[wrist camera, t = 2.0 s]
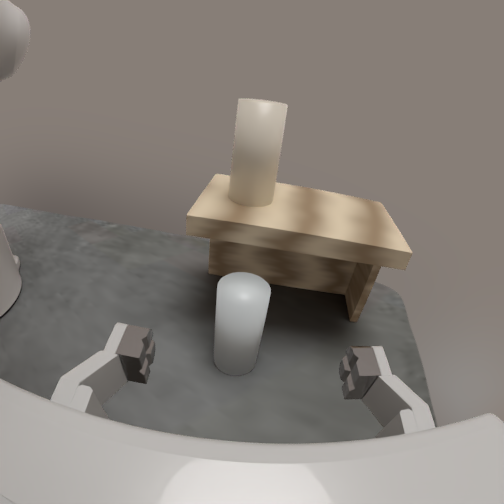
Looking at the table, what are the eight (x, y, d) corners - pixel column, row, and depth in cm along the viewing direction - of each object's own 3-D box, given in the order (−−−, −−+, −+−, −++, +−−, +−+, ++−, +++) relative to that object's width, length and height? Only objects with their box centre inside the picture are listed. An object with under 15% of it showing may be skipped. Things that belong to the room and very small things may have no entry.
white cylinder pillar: (209, 371, 29) (212, 301, 24) (217, 339, 33) (222, 268, 28) (253, 379, 29) (269, 310, 24) (258, 346, 33) (272, 276, 28)
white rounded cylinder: (224, 202, 29) (234, 100, 24) (232, 186, 33) (242, 97, 28) (271, 210, 29) (287, 106, 24) (273, 193, 33) (287, 103, 28)
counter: (187, 328, 34) (186, 215, 26) (210, 269, 44) (215, 173, 36) (362, 353, 33) (412, 252, 25) (350, 291, 43) (381, 202, 36)
